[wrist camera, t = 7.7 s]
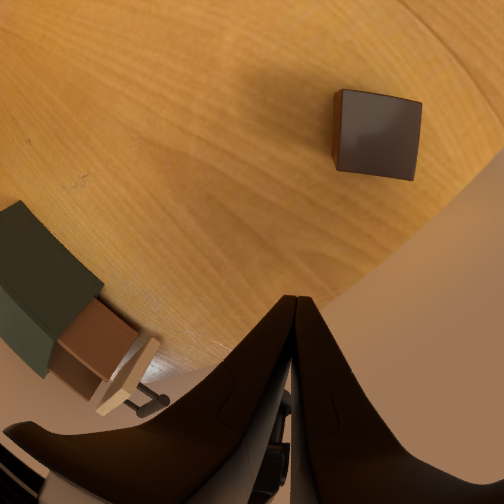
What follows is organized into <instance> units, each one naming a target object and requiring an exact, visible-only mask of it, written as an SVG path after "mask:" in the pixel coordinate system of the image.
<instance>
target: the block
mask: <svg viewBox="0 0 504 504" xmlns="http://www.w3.org/2000/svg"><path fill="white" fill-rule="evenodd" d="M421 115H422V103H421V102H417V101H413V100H408V99H403V98H398V97H393V96H388V95H383V94H377V93H371V92H364V91H357V90H350V89H341V90H339V91H337V92H335V95H334V118H333V136H332V151H331V156H332V159H333V162H334V164H335V167H336V169H337V171H343V172H351V173H360V174H367V175H375V176H382V177H389V178H395V179H402V180H408V181H413V180H414V175H415V168H416V161H417V154H418V145H419V137H420V126H421Z"/></svg>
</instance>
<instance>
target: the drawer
mask: <svg viewBox="0 0 504 504" xmlns="http://www.w3.org/2000/svg"><path fill="white" fill-rule="evenodd" d="M137 335H138V333H137V332H136V331H135V330H133V329H132V328H131V327H130V326H128V325H127V324H126V323H125V322H123V321H122V320H121V319H120V318H119V317H117V316H116V315H115V314H114V313H113V312H111V311H110V310H109V309H108V308H107V307H105V306H104V305H103V304H102V303H101V302H100V301H99V300H97V299H96V298H95V297H94V298H93V299H92V300H91V301H90V302H89V303H88V304H87V305H86V306H85V308H84V309H83V310H82V311H81V312H80V313H79V314H78V315H77V317H76V318H75V319H74V320H73V321H72V322H71V323H70V325H69V326H68V327H67V328H66V329H65V330H64V331H63V333H62V334H61V335H60V336H59V337H58V338H57V340H56V344H55V347H54V350H53V353H52V357H51V360H50V364H49V368H48V370H49V371H50V372H51V373H52V374H54V375H55V376H56V377H57V378H58V379H59V380H61V381H62V382H63V383H64V384H66V385H67V386H68V387H69V388H70V389H72V390H73V391H74V392H75V393H77V394H78V395H79V396H81V397H82V398H83V399H84V400H86V401H87V402H88V401H89V400H90V399H91V397H92V396H93V394H94V392H95V391H96V389H97V388H98V386H99V384H100V383H101V381H102V380H104V381H105V382H107V381H108V380H109V379H110V377H111V376H112V374H113V373H114V371H115V369H116V368H117V366H118V365H119V363H120V362H121V360H122V358H123V357H124V355H125V354H126V352H127V351H128V349H129V348H130V346H131V345H132V343H133V342H134V340H135V338H136V337H137ZM160 345H161V343H160V342H159V341H157V340H156V339H155V338H153V337H151V338H150V339H149V340H148V341H147V342H146V344H145V345H144V346H143V347H142V348H141V349H140V350H139V351H138V352H137V353H136V354H135V355H134V356H133V357H132V358H131V359H130V360H129V361H128V362H127V363H126V364H125V365H124V366H123V367H122V368H121V369H120V370H119V372H118V373H117V375H116V377H115V378H114V380H113V381H112V383H111V385H110V386H109V388H108V390H107V391H106V393H105V395H104V396H103V398H102V400H101V401H100V403H99V405H98V406H97V408H96V410H95V411H96V412H97V413H99V414H100V415H102V416H104V415H105V414H107V413H108V412H109V411H111V410H112V409H114V408H115V407H117V406H118V405H119V404H121V403H122V402H123V403H124V404H126V405H127V406H129V407H130V408H132V409H133V410H135V411H136V414H137V416H138V417H140V418H144V417H146V416H149V415H150V414H153V413H155V412H156V411H159V410H161V409H163V408H165V407H166V406H168V405H169V404H170V399H169V397H168V396H167V395H164V394H161V395H160V396H159V395H158V394H156V393H155V392H153V391H152V390H150V389H149V388H148V387H146V386H145V385H143V384H142V383H140V380H141V378H142V377H143V375H144V373H145V371H146V369H147V368H148V366H149V364H150V362H151V360H152V359H153V357H154V355H155V353H156V352H157V350H158V348H159V346H160ZM136 388H137V389H139V390H140V391H141V392H143V393H145V394H146V395H147V396H149V397H150V398H152V399H153V400H151V401H150V402H148V403H146V404H144V405H143V406H141V407H138V406H137V405H135V404H134V403H132V402H131V401H130V400H128V398H129V397H131V396H132V395H133V393H134V391H135V389H136Z"/></svg>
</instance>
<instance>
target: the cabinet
mask: <svg viewBox="0 0 504 504" xmlns="http://www.w3.org/2000/svg"><path fill="white" fill-rule="evenodd" d="M103 286H104V284H103V283H102V282H101V281H100V280H99V279H98V278H97V277H95V276H94V275H93V274H92V273H91V272H90V271H89V270H88V269H87V268H86V267H85V266H83V265H82V264H81V263H80V262H79V261H78V260H77V259H76V258H75V257H74V256H73V255H72V254H71V253H70V252H69V251H68V250H67V249H66V248H65V247H64V246H63V245H62V244H61V243H60V242H59V241H58V240H57V239H56V238H55V237H54V236H53V235H52V234H51V233H50V232H49V231H48V230H47V229H46V228H45V227H44V226H43V225H42V224H41V223H40V221H39V220H38V219H37V218H36V217H35V216H34V215H33V214H32V213H31V212H30V211H29V209H28V208H27V207H26V206H25V205H24V204H23V203H22V201H21V200H20V201H18V202H16V203H15V204H13V205H11V206H10V207H8V208H6V209H4V210H3V211H1V212H0V337H1V338H2V339H3V340H4V341H5V342H6V343H7V345H8V346H9V347H10V348H11V349H12V350H13V351H14V352H15V353H16V354H17V355H18V356H19V357H20V358H21V359H22V360H23V361H24V362H25V363H26V364H27V365H28V366H29V367H31V368H32V369H33V370H34V371H35V372H36V373H37V374H38V375H39V376H40V377H41V378H43V379H44V378H45V377H46V375H47V374H48V373H49V370H48V368H49V364H50V360H51V357H52V353H53V350H54V347H55V344H56V340H57V338H58V337H59V336H60V335H61V334H62V333H63V331H64V330H65V329H66V328H67V327H68V326H69V325H70V323H71V322H72V321H73V320H74V319H75V318H76V317H77V315H78V314H79V313H80V312H81V311H82V310H83V309H84V308H85V306H86V305H87V304H88V303H89V302H90V301H91V300H92V299H93V298H94V297H95V298H96V299H97V297H98V295H99V293H100V292H101V290H102V288H103Z"/></svg>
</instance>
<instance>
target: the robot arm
mask: <svg viewBox="0 0 504 504" xmlns="http://www.w3.org/2000/svg"><path fill="white" fill-rule="evenodd" d="M291 358H292V360H291ZM290 364H291V407H290V406H288V405H287V404H285V403H283V402H281V398H282V395H283V391H284V387H285V384H286V380H287V376H288V373H289V369H290ZM290 414H291V421H292V422H291V492H290V504H504V479H503V480H500V481H498V482H495V483H491V484H486V485H479V484H472V483H469V482H466V481H464V480H461V479H459V478H457V477H455V476H452V475H450V474H448V473H446V472H444V471H441V470H439V469H437V468H435V467H433V466H431V465H429V464H427V463H425V462H423V461H421V460H419V459H417V458H416V457H414V456H413V455H411V454H410V453H409V452H408V451H406V450H405V449H404V447H403V446H402V445H401V444H400V443H399V441H398V440H397V439H396V437H395V436H394V434H393V433H392V432H391V430H390V429H389V428H388V426H387V425H386V423H385V422H384V421H383V419H382V418H381V417H380V415H379V414H378V412H377V411H376V410H375V408H374V407H373V405H372V404H371V402H370V401H369V400H368V398H367V397H366V395H365V393H364V391H363V390H362V388H361V386H360V385H359V383H358V381H357V379H356V377H355V375H354V374H353V373H352V370H351V368H350V366H349V365H348V363H347V361H346V359H345V357H344V355H343V353H342V352H341V350H340V348H339V346H338V344H337V343H336V341H335V339H334V337H333V335H332V333H331V332H330V330H329V328H328V326H327V324H326V323H325V321H324V319H323V317H322V316H321V314H320V312H319V310H318V308H317V307H316V305H315V303H314V301H313V299H312V298H311V297H308V296H298V297H296V296H293V295H283V296H282V297H281V298H280V300H279V301H278V302H277V303H276V304H275V305H274V306H273V307H272V308H271V310H270V311H269V312H268V313H267V314H266V315H265V316H264V317H263V318H262V319H261V321H260V322H259V323H258V324H257V325H256V326H255V327H254V328H253V329H252V330H251V331H250V332H249V334H248V335H247V336H246V337H245V338H244V339H243V340H242V341H241V342H240V343H239V344H238V345H237V346H236V347H235V348H234V349H233V351H232V352H231V353H230V354H229V355H228V356H227V357H226V358H225V359H224V361H222V362H221V363H220V364H219V365H218V366H217V367H216V368H215V369H214V370H213V371H212V372H211V373H210V374H209V375H208V376H207V377H206V378H205V379H204V380H203V381H201V382H200V383H199V384H198V385H196V386H195V387H194V388H193V389H192V390H190V391H189V392H188V393H186V394H185V395H184V396H183V397H181V398H180V399H179V400H177V401H176V402H175V403H173V404H172V405H171V406H169V407H168V408H166V409H165V410H164V411H162V412H161V413H160V414H158V415H157V416H155V417H154V418H153V419H151V420H149V421H147V422H145V423H143V424H141V425H138V426H134V427H129V428H124V429H117V430H111V431H104V432H96V433H88V434H79V435H60V434H55V433H51V432H49V431H47V430H45V429H44V428H42V427H41V426H39V425H37V424H36V423H34V422H32V421H26V422H20V423H16V424H13V425H10V426H9V427H7V428H5V429H4V430H3V433H4V434H5V435H6V436H7V437H9V438H10V439H11V440H12V441H13V442H14V443H16V444H17V445H18V446H19V447H20V448H22V449H23V450H24V451H25V452H27V453H28V454H29V455H31V456H32V457H33V458H35V459H36V460H37V461H39V462H40V463H41V464H43V465H44V466H45V467H47V468H48V469H50V472H49V474H48V476H47V477H46V479H45V478H44V477H42V476H41V475H40V474H38V473H37V472H35V471H34V470H33V469H32V468H30V467H29V466H28V465H26V464H25V463H24V462H23V461H21V460H20V459H19V458H17V457H16V456H15V455H14V454H12V453H11V452H10V451H9V450H8V449H6V448H5V447H4V446H3V445H2V444H1V443H0V504H270V503H271V502H272V500H273V499H274V497H275V495H276V494H277V492H278V490H279V487H280V486H281V487H282V486H283V485H284V483H285V480H286V476H287V472H288V466H289V453H290V443H282V438H283V432H284V425H285V419H286V416H288V415H290Z"/></svg>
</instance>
